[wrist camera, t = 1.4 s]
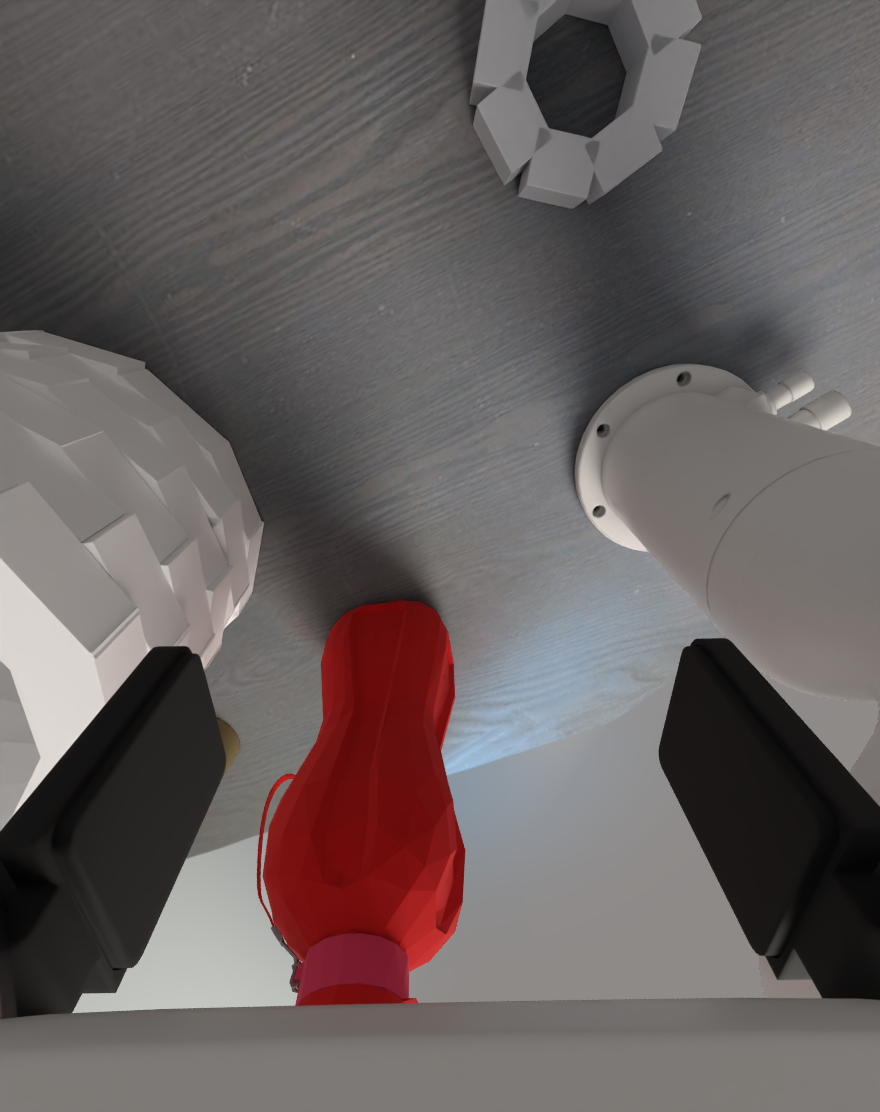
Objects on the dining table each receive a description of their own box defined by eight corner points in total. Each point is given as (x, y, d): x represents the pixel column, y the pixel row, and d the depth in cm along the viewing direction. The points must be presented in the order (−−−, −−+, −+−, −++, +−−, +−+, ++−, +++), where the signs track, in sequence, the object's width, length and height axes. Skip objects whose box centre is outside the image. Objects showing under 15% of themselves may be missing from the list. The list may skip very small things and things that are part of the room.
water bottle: (300, 607, 39) (126, 1005, 17) (441, 587, 39) (456, 972, 16) (330, 699, 43) (220, 1121, 21) (458, 682, 43) (487, 1097, 20)
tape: (615, -112, 23) (639, -167, 20) (700, 119, 27) (730, 98, 24) (434, 54, 26) (435, 24, 23) (535, 245, 29) (545, 239, 27)
